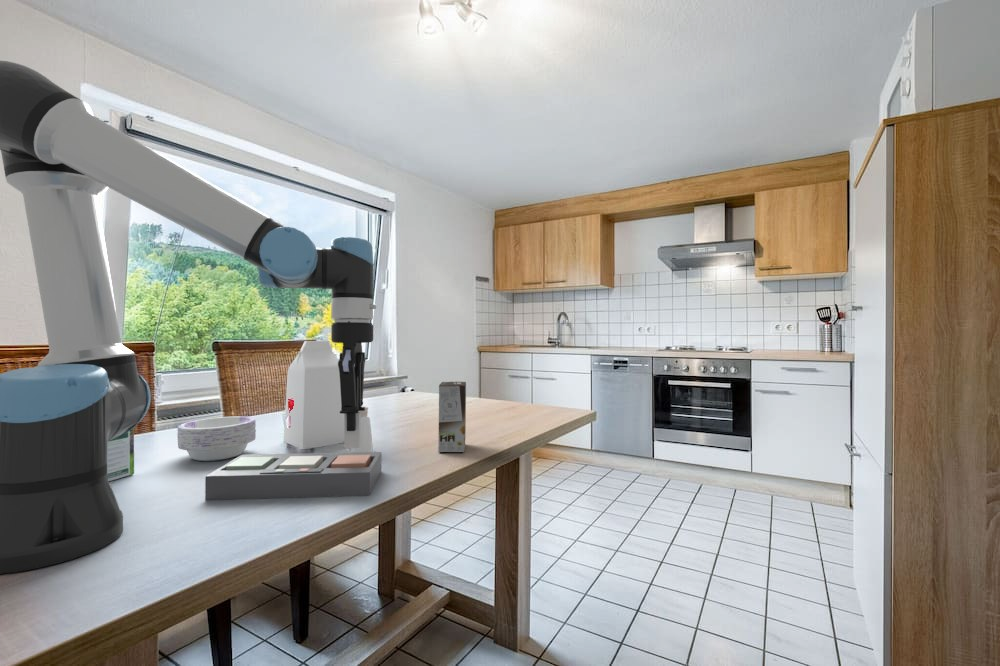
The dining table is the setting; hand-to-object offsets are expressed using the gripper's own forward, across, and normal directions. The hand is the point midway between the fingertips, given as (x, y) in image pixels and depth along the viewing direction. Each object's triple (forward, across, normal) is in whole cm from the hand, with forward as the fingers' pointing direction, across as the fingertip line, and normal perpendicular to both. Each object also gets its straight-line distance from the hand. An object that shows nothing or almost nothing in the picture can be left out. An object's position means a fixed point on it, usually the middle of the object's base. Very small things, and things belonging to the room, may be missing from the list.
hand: (352, 446), depth 88 cm
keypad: (+7, 0, +9) cm, 11 cm away
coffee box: (+7, +25, -19) cm, 32 cm away
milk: (+7, +35, +16) cm, 39 cm away
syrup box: (+7, +7, +47) cm, 48 cm away
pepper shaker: (+7, +21, +2) cm, 22 cm away
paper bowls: (+7, +22, +34) cm, 41 cm away
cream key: (+4, 0, +9) cm, 10 cm away
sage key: (+4, 0, +18) cm, 19 cm away
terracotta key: (+5, 0, 0) cm, 5 cm away
